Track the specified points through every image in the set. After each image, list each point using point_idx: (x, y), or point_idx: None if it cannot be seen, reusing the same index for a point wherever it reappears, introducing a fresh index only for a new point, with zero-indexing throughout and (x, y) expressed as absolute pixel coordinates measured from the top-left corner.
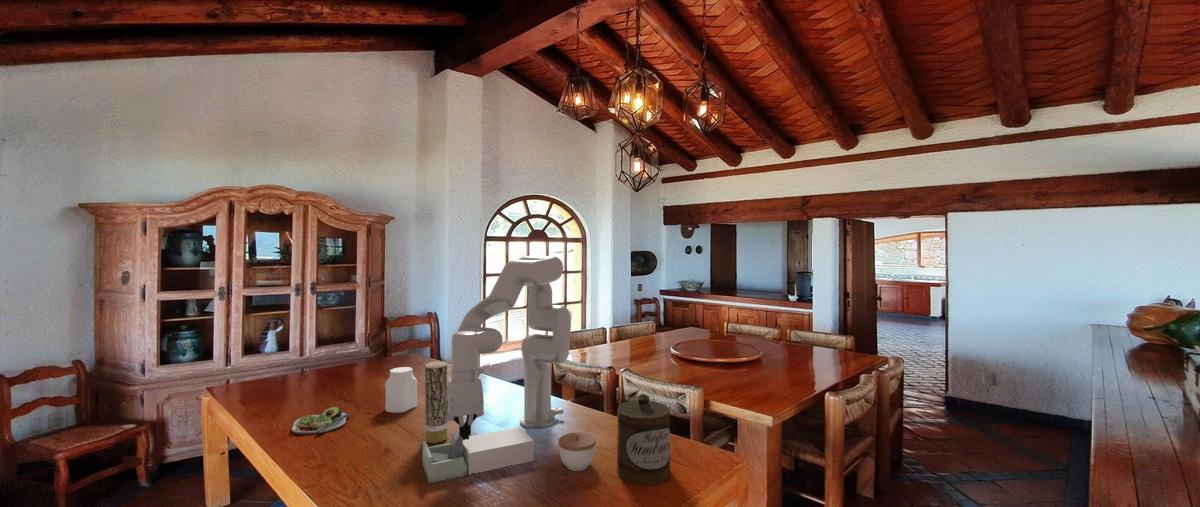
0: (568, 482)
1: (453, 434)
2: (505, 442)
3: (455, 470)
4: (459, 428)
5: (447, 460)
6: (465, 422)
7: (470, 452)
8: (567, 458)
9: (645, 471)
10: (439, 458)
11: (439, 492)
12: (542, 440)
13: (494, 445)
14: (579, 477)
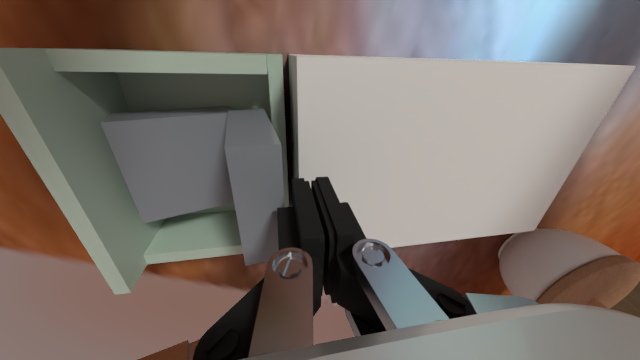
0: (459, 289)
1: (238, 173)
2: (459, 214)
3: None
4: (278, 242)
5: (213, 251)
6: (338, 263)
7: None
8: (511, 292)
9: None
10: (177, 186)
11: (203, 265)
12: (614, 52)
13: (412, 225)
14: (485, 280)
